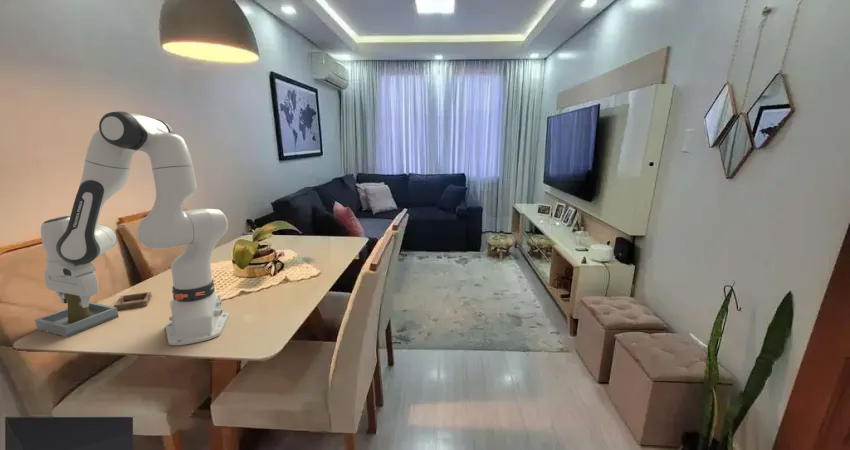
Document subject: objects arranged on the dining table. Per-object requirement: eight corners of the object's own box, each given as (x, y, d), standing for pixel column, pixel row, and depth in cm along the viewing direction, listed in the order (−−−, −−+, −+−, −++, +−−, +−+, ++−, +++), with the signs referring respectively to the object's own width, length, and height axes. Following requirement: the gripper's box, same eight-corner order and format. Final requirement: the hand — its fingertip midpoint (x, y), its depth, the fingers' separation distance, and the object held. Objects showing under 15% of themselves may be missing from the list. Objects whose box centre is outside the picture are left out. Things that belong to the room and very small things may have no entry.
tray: (118, 316, 131) (116, 307, 130) (67, 337, 117) (65, 327, 116) (89, 310, 135) (88, 301, 135) (37, 329, 122) (34, 319, 121)
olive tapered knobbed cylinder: (78, 324, 123) (71, 293, 121) (63, 322, 124) (56, 292, 122) (96, 316, 129) (90, 286, 127) (81, 314, 130) (75, 285, 127)
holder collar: (146, 306, 139) (146, 301, 139) (114, 310, 135) (113, 305, 135) (151, 296, 148) (151, 291, 147) (121, 300, 144) (120, 295, 143)
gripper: (34, 265, 122) (43, 304, 125) (76, 272, 116) (84, 313, 119) (58, 259, 127) (66, 296, 131) (99, 266, 121) (106, 305, 124)
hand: (75, 304), depth 125 cm, fingers open, 8 cm apart
